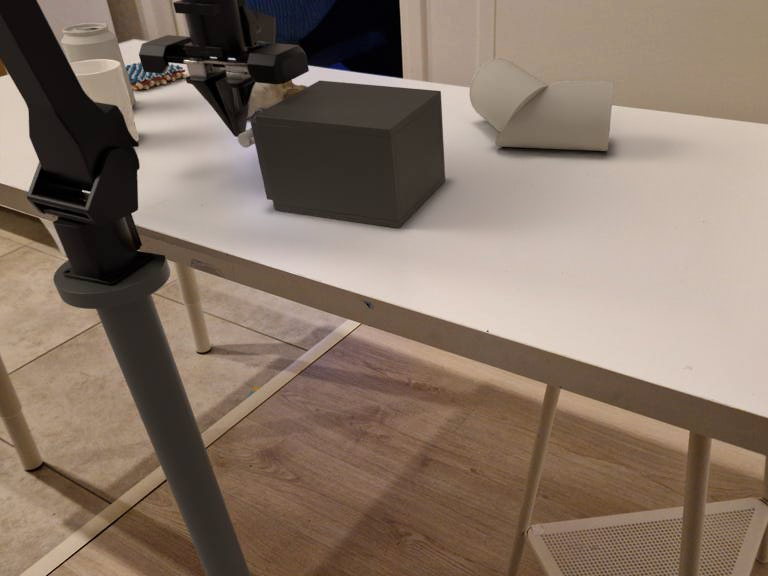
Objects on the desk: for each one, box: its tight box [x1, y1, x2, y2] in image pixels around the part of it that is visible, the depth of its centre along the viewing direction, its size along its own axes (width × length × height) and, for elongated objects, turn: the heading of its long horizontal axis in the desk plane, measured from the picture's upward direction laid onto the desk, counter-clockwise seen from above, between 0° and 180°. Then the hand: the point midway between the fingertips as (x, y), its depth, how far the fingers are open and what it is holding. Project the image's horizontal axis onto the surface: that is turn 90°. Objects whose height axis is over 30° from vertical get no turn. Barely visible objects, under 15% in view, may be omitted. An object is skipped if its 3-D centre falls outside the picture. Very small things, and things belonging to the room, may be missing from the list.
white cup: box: [70, 59, 140, 142], centre depth 97 cm, size 8×8×10 cm
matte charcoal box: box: [254, 80, 446, 229], centre depth 81 cm, size 16×14×11 cm
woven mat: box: [125, 61, 187, 91], centre depth 123 cm, size 10×11×2 cm
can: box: [60, 22, 137, 107], centre depth 108 cm, size 8×8×12 cm
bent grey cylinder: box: [469, 58, 615, 152], centre depth 96 cm, size 18×11×20 cm
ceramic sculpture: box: [247, 79, 308, 119], centre depth 108 cm, size 11×9×15 cm
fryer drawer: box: [237, 118, 273, 201], centre depth 82 cm, size 19×12×9 cm, turn 71°
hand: (240, 135), depth 85 cm, fingers closed
